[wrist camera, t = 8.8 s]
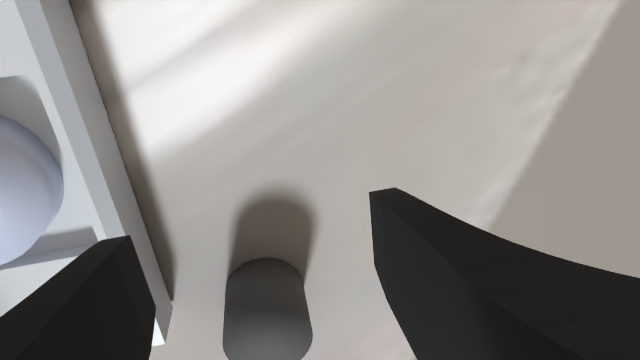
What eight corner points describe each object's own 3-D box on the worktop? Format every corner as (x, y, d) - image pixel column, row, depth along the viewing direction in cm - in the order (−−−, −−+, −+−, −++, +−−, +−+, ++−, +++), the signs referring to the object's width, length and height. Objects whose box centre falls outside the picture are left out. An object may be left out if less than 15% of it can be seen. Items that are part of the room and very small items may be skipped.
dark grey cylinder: (307, 312, 24) (317, 363, 20) (234, 327, 23) (232, 381, 20) (297, 251, 22) (306, 297, 19) (218, 266, 21) (213, 315, 18)
